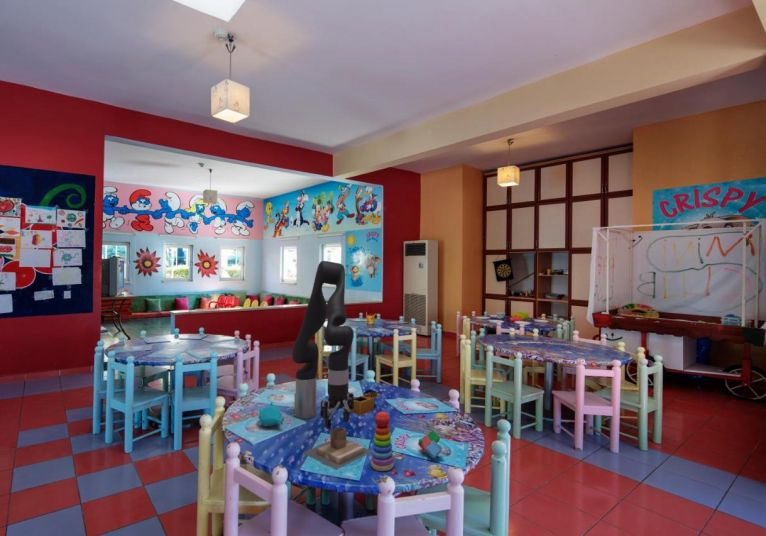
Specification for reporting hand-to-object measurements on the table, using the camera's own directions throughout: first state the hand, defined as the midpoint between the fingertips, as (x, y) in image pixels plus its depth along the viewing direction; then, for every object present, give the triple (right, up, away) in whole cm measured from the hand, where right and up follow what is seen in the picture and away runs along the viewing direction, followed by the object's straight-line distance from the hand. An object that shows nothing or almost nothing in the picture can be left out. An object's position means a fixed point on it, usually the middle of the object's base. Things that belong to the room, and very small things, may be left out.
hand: (337, 425), depth 149 cm
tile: (-3, -9, +3) cm, 10 cm away
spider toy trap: (+9, -10, +46) cm, 48 cm away
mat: (0, -10, 0) cm, 10 cm away
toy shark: (-30, -10, +24) cm, 40 cm away
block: (0, -8, 0) cm, 8 cm away
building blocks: (+35, -11, +2) cm, 37 cm away
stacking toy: (+16, -11, -9) cm, 22 cm away
